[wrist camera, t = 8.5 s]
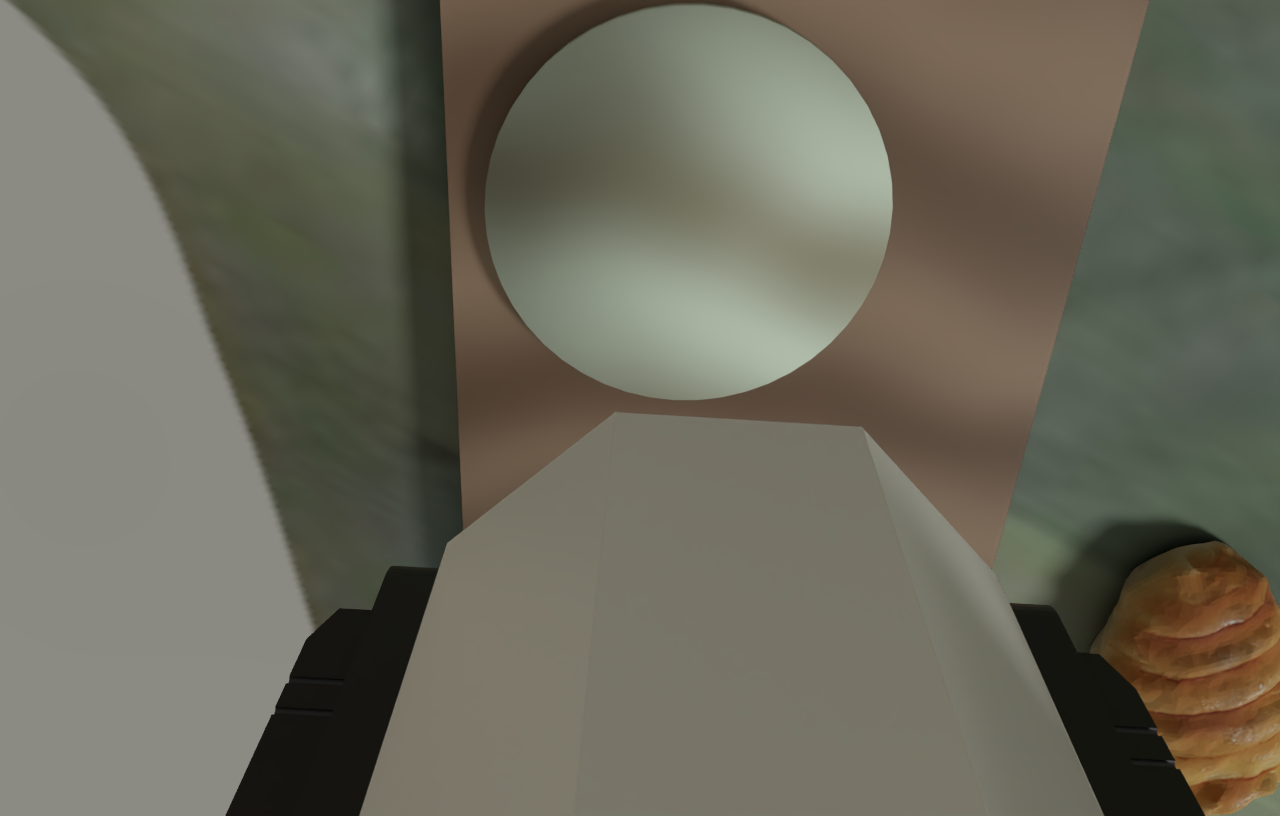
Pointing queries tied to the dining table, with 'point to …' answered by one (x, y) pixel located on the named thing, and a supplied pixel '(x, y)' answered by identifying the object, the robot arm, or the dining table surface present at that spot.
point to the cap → (721, 644)
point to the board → (772, 221)
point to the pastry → (1204, 668)
